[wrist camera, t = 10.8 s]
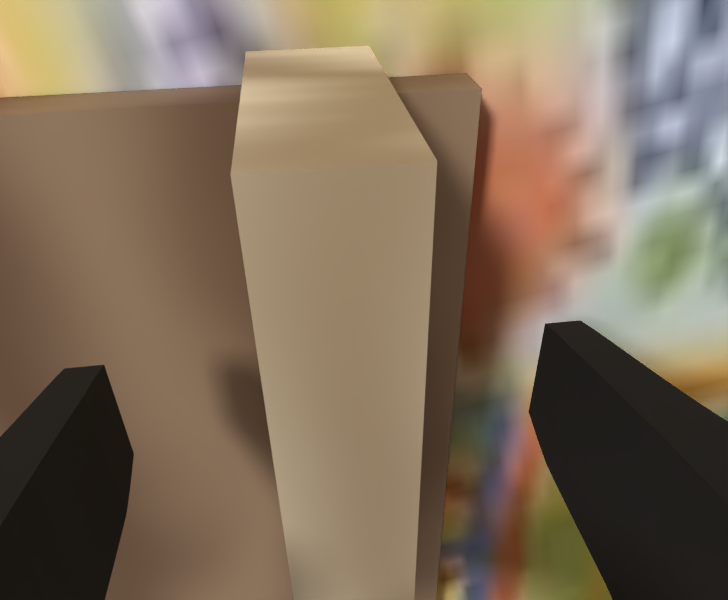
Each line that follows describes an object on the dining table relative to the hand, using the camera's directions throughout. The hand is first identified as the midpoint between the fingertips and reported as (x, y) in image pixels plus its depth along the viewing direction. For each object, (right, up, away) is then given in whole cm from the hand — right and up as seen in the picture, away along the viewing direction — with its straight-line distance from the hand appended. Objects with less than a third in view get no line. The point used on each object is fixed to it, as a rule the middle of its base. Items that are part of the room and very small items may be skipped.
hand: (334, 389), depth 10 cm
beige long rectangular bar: (0, +1, +3) cm, 3 cm away
